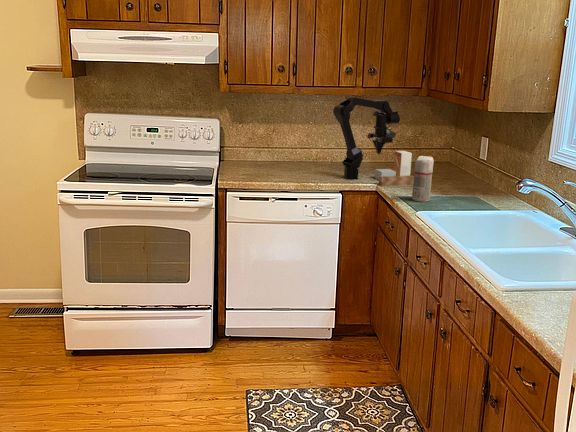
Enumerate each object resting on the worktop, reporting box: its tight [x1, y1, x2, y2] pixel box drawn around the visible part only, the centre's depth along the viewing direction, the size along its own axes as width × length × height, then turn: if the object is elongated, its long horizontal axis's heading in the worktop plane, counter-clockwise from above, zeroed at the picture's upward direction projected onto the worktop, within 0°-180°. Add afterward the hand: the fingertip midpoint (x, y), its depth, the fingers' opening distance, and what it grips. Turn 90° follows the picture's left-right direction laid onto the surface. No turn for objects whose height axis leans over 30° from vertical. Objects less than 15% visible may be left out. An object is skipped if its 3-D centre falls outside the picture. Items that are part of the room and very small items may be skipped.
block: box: [374, 168, 397, 181], centre depth 325 cm, size 8×8×5 cm
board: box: [378, 174, 414, 187], centre depth 314 cm, size 18×3×4 cm, turn 108°
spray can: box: [411, 155, 435, 203], centre depth 280 cm, size 8×8×20 cm
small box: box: [392, 150, 413, 176], centre depth 336 cm, size 8×6×13 cm
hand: (378, 153), depth 331 cm, fingers closed
